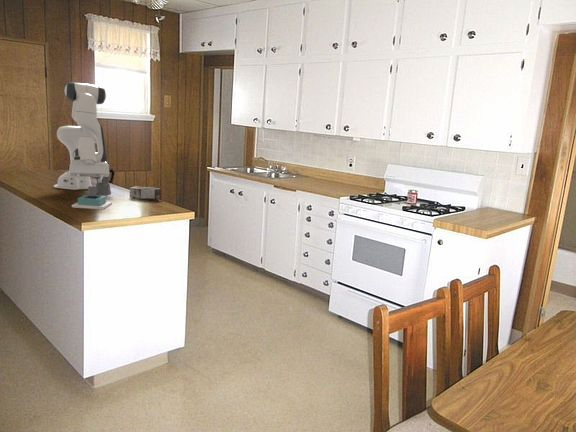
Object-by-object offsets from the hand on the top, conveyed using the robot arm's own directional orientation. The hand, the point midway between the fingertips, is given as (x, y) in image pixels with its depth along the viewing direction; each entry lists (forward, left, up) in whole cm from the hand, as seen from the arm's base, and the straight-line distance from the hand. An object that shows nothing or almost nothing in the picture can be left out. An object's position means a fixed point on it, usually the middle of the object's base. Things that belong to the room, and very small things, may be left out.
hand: (90, 182), depth 247 cm
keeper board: (+2, -2, -12) cm, 13 cm away
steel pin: (+2, -2, -11) cm, 11 cm away
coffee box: (+14, +30, -9) cm, 34 cm away
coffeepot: (-4, +35, -13) cm, 37 cm away
